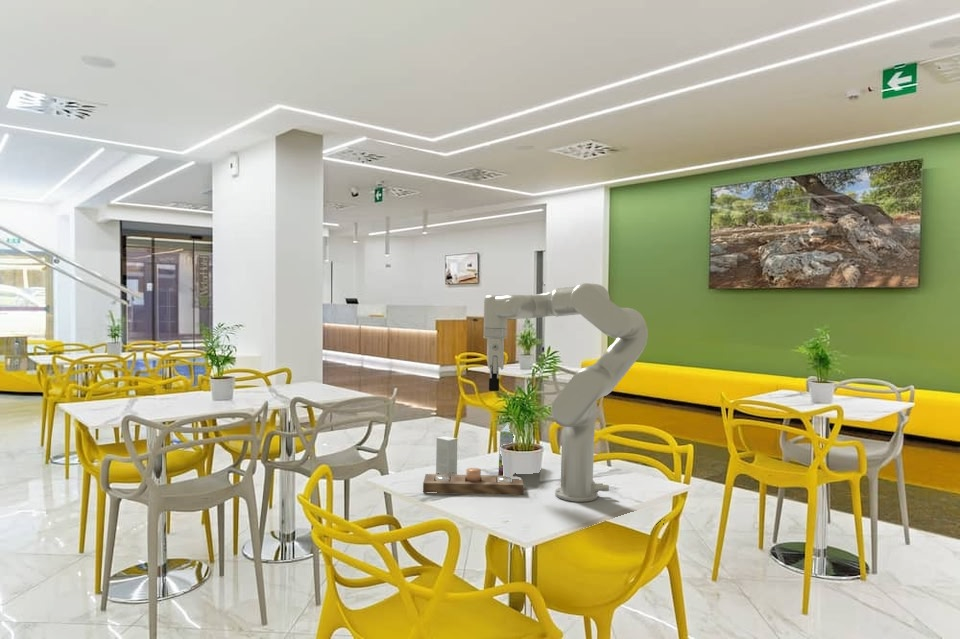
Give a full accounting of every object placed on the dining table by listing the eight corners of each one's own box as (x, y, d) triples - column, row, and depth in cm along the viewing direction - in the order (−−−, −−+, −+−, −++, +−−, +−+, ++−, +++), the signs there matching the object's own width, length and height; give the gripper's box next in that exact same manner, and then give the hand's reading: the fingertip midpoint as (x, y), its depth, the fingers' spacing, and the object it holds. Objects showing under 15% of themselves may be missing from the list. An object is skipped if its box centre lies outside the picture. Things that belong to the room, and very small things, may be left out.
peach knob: (480, 478, 201) (480, 467, 201) (480, 482, 196) (480, 471, 196) (466, 478, 201) (466, 467, 201) (466, 482, 196) (466, 471, 196)
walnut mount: (520, 485, 204) (521, 475, 204) (523, 494, 194) (523, 484, 194) (425, 483, 204) (425, 474, 203) (423, 492, 194) (423, 483, 193)
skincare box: (457, 474, 215) (458, 438, 215) (448, 476, 212) (449, 440, 212) (444, 470, 219) (444, 435, 219) (435, 473, 216) (436, 437, 216)
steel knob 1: (449, 486, 201) (449, 475, 201) (449, 490, 196) (449, 479, 196) (435, 486, 201) (435, 475, 201) (434, 490, 196) (434, 479, 196)
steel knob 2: (510, 487, 201) (511, 476, 201) (511, 491, 197) (511, 480, 196) (496, 487, 201) (496, 476, 201) (497, 491, 197) (497, 480, 196)
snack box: (514, 477, 213) (515, 432, 212) (497, 476, 214) (498, 431, 213) (523, 462, 234) (524, 420, 233) (507, 461, 235) (508, 419, 234)
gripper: (508, 335, 200) (506, 394, 200) (505, 332, 215) (504, 387, 215) (483, 334, 200) (482, 393, 200) (483, 332, 215) (481, 387, 215)
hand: (493, 390), depth 208 cm, fingers closed
